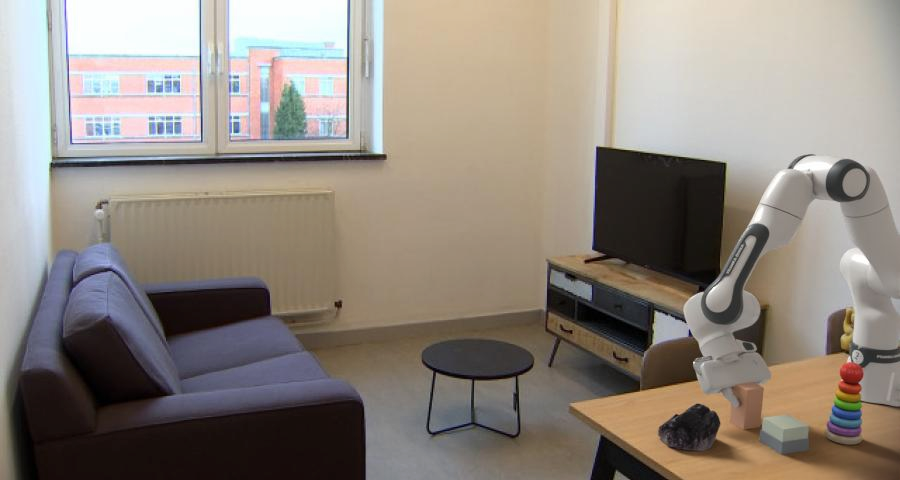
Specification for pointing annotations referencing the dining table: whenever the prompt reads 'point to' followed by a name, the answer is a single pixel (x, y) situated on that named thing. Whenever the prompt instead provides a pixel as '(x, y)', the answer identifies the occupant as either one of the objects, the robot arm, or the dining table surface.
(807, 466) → the dining table surface
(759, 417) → the terracotta brick
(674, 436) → the crystal cluster
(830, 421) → the stacking toy
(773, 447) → the two-tone pastel block
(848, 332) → the decorative figurine
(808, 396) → the dining table surface
